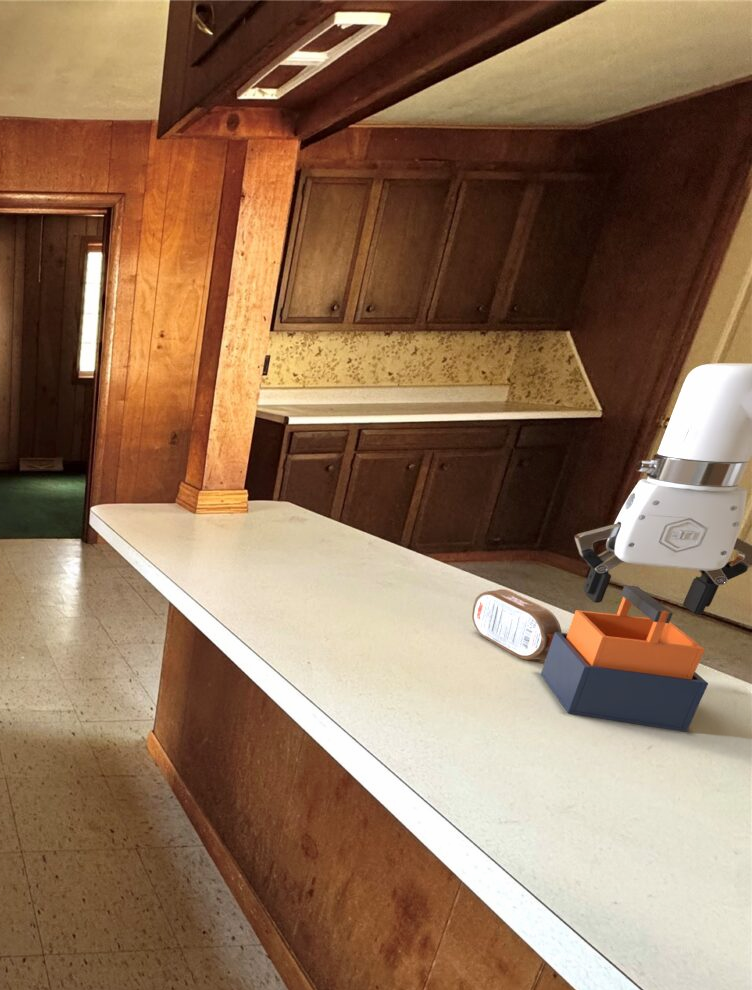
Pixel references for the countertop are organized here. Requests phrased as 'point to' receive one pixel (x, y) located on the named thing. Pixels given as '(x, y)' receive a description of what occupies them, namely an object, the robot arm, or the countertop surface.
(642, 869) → the countertop surface
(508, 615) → the tin
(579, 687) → the bin outer
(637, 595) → the basket
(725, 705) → the countertop surface
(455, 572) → the countertop surface
